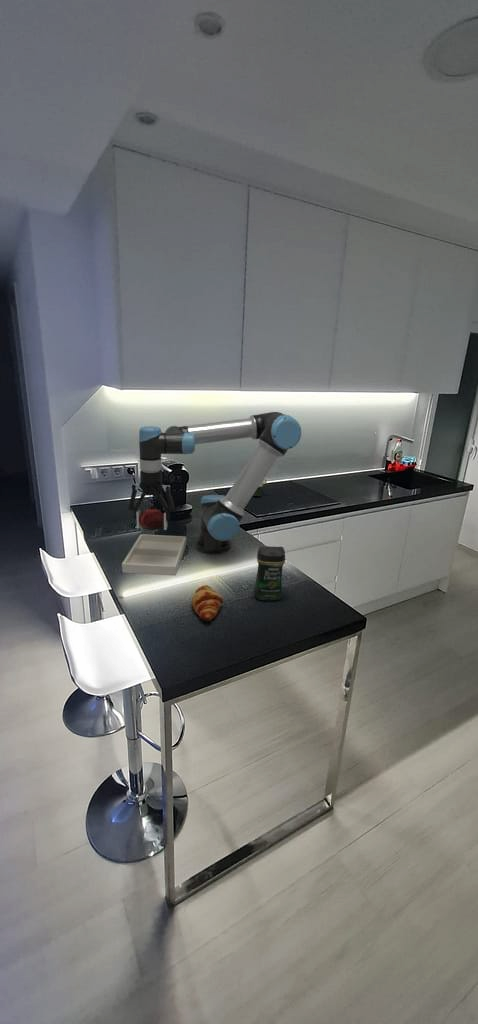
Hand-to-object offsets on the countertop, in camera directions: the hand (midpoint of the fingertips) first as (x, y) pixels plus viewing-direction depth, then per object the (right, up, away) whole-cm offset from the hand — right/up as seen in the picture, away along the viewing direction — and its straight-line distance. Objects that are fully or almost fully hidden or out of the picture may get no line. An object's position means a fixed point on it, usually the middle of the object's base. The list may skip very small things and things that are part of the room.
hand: (152, 527), depth 161 cm
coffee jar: (+43, -23, -13) cm, 51 cm away
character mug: (+43, +15, +96) cm, 107 cm away
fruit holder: (0, -12, +12) cm, 17 cm away
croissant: (+22, -26, -21) cm, 40 cm away
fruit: (0, -1, 0) cm, 1 cm away
